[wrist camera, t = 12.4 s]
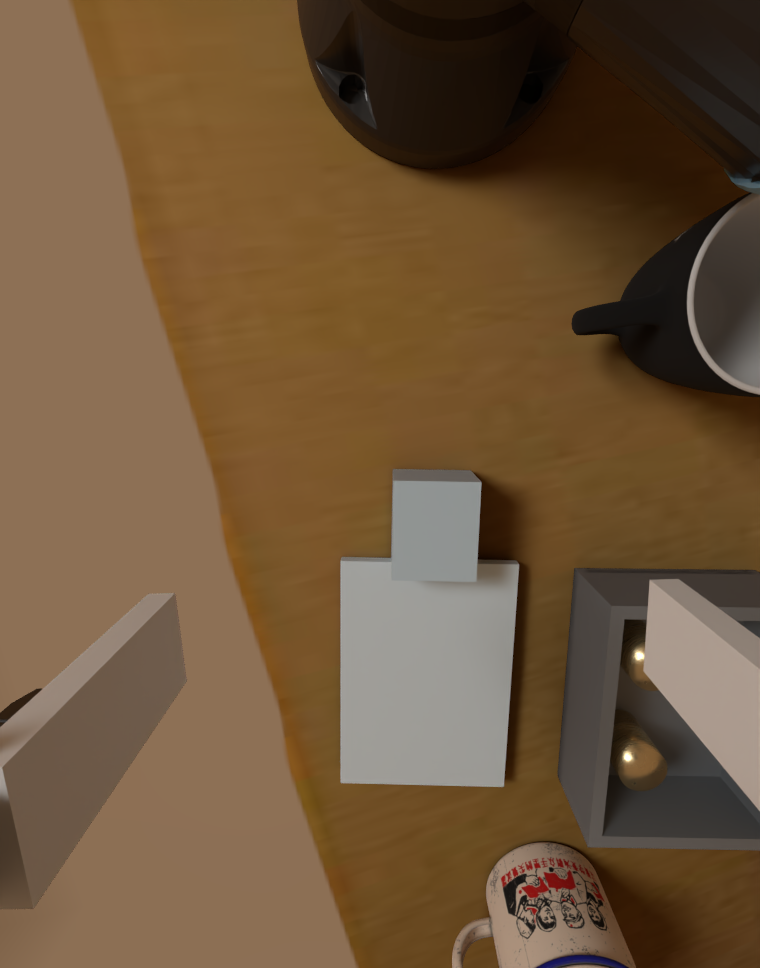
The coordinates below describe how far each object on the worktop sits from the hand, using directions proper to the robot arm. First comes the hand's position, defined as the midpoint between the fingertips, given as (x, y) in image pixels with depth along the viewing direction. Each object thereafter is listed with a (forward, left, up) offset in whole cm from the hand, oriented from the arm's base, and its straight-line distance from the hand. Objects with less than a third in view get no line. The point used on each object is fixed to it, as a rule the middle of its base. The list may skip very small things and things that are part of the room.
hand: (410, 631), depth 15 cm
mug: (-10, +15, -20) cm, 27 cm away
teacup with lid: (+32, +10, -20) cm, 39 cm away
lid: (+10, +2, -21) cm, 23 cm away
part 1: (+10, +15, -19) cm, 27 cm away
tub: (+14, +18, -20) cm, 30 cm away
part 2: (+17, +15, -19) cm, 30 cm away
